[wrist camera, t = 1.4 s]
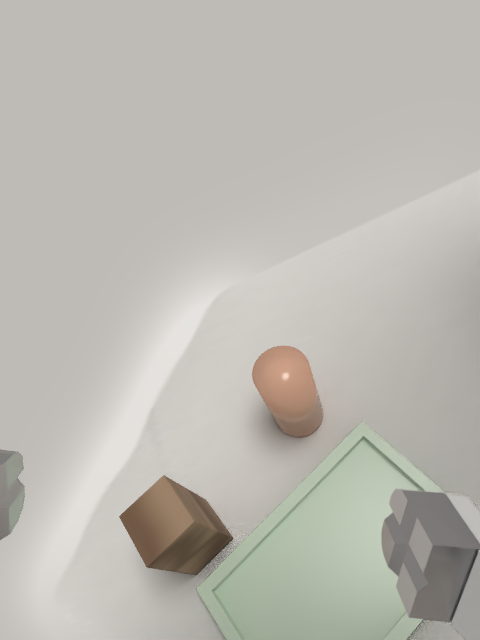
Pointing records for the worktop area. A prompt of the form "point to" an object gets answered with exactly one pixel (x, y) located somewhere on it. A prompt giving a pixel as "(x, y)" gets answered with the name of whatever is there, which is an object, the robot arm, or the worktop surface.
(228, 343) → the worktop surface
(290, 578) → the tray
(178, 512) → the walnut block
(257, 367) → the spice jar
